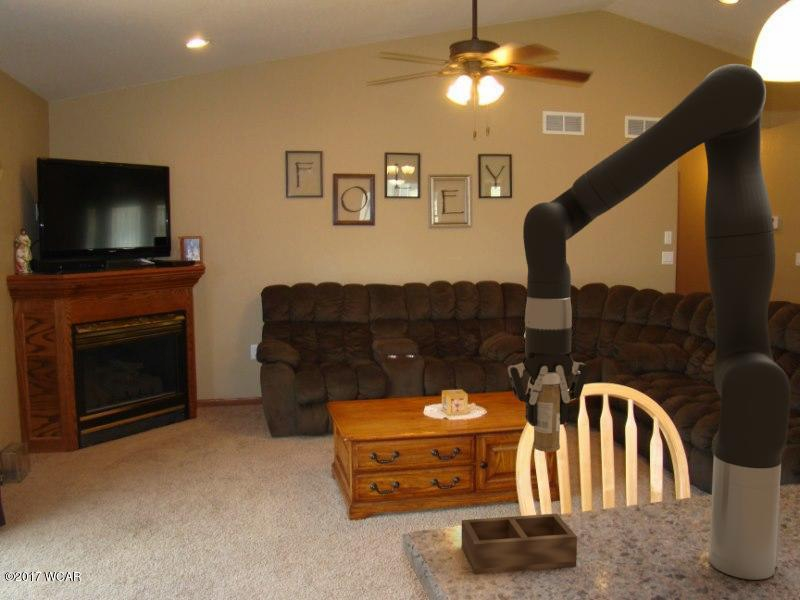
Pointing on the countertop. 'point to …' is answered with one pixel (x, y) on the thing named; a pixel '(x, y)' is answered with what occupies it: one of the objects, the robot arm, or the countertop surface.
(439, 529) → the countertop surface
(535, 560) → the spice caddy
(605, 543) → the countertop surface
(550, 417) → the sprinkles bottle
